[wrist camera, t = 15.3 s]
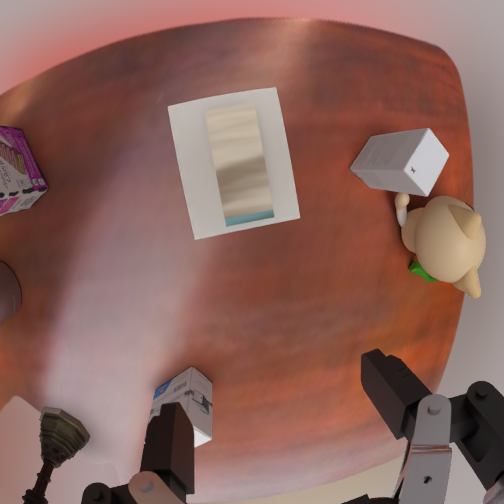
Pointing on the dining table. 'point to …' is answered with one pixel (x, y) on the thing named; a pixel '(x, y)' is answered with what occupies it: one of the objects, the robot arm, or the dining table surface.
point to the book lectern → (55, 448)
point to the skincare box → (401, 161)
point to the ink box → (189, 401)
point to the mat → (203, 170)
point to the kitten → (444, 241)
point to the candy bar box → (18, 173)
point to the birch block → (239, 164)
